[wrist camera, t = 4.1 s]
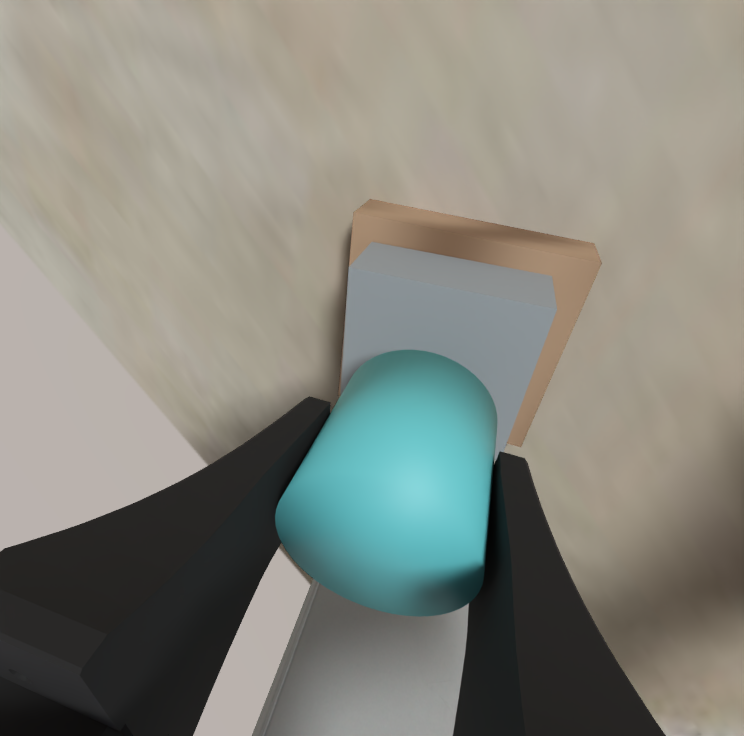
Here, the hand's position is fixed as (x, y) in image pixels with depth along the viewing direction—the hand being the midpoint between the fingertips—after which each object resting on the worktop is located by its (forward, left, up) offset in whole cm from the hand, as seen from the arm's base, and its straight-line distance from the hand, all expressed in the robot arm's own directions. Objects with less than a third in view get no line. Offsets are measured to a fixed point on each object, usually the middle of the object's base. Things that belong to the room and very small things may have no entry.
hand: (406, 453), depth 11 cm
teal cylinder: (0, 0, -1) cm, 1 cm away
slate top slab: (0, 0, -6) cm, 6 cm away
